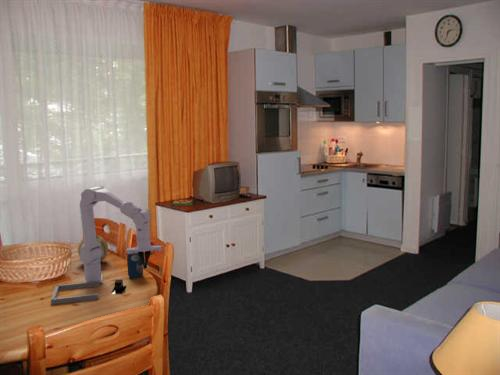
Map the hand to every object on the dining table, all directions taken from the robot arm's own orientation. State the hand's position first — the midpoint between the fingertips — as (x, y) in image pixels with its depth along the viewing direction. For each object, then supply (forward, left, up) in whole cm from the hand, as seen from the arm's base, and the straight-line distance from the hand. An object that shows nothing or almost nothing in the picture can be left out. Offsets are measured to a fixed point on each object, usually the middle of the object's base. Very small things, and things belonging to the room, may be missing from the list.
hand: (145, 267), depth 214 cm
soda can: (-15, -4, -9) cm, 18 cm away
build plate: (0, -12, -9) cm, 15 cm away
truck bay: (0, -29, -9) cm, 30 cm away
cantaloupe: (-43, -24, -9) cm, 50 cm away
